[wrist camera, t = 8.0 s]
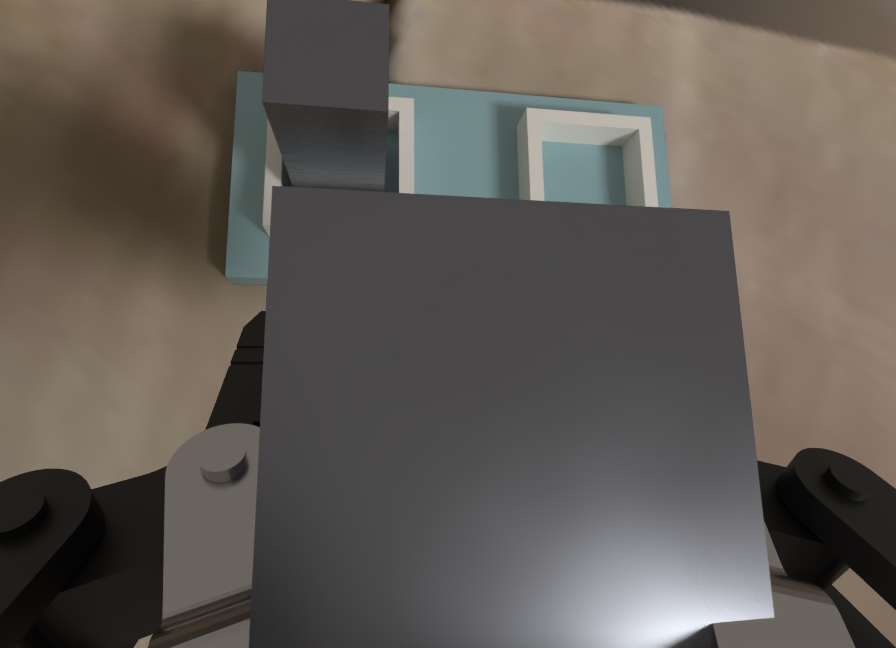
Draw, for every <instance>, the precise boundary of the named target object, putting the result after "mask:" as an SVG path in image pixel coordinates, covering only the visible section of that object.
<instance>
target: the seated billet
mask: <svg viewBox="0 0 896 648" xmlns="http://www.w3.org/2000/svg"><path fill="white" fill-rule="evenodd" d="M262 104H263V106H264V109H265V112H266V114H267V117H268V120H269V123H270V125H271V128H272V131H273V133H274V136H275V139H276V142H277V144H278V147H279V150H280V153H281V155H282V158H283V161H284V163H285V166H286V169H287V172H288V174H289V177H290V180H291V182H292V185H293V187H303V188H321V189H339V190H357V191H375V192H384V186H385V167H386V148H387V130H388V107H389V5H388V4H379V3H370V2H361V1H351V0H267V13H266V32H265V51H264V71H263V90H262Z"/></svg>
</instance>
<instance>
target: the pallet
mask: <svg viewBox="0 0 896 648" xmlns="http://www.w3.org/2000/svg"><path fill="white" fill-rule="evenodd" d="M262 90H263V73H260V72H248V71H238V74H237V90H236V107H235V123H234V139H233V156H232V172H231V188H230V204H229V221H228V237H227V253H226V270H225V277H226V278H227V279H228V280H229V281H230V282H231V283H233V284H260V285H267V279H268V259H269V239H270V220H271V200H272V186H285V187H293V185H292V182H291V180H290V177H289V174H288V172H287V169H286V166H285V163H284V161H283V158H282V155H281V153H280V150H279V147H278V144H277V142H276V139H275V136H274V133H273V131H272V128H271V125H270V123H269V120H268V117H267V114H266V112H265V109H264V106H263V104H262ZM384 192H393V193H411V194H429V195H447V196H465V197H483V198H501V199H519V200H537V201H555V202H573V203H591V204H609V205H627V206H645V207H663V208H672V207H671V196H670V185H669V174H668V163H667V152H666V141H665V130H664V119H663V109H662V106H651V105H639V104H627V103H615V102H603V101H591V100H580V99H568V98H556V97H544V96H532V95H520V94H508V93H497V92H485V91H473V90H461V89H449V88H437V87H425V86H414V85H402V84H390V83H389V107H388V130H387V148H386V167H385V186H384Z"/></svg>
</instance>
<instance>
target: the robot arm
mask: <svg viewBox="0 0 896 648" xmlns="http://www.w3.org/2000/svg"><path fill="white" fill-rule="evenodd" d="M265 318H266V311H261V312H260V313H259V314H258V315H256V316H255V317H254V318H253V319H252V320H251V321H250V322H249V323H248V324H247V325H245V326H244V328H243V330H242V333H241V336H240V338H239V341H238V344H237V350H235V352H234V354H233V357H232V360H231V366H229V368H228V371H227V373H226V376H225V379H224V381H223V384H222V387H221V389H220V392H219V395H218V398H217V400H216V403H215V406H214V408H213V411H212V414H211V416H210V419H209V422H208V425H207V427H206V429H205V430H204V431H202V432H200V433H198V434H196V435H195V436H193V437H192V438H190V439H189V440H187V441H186V442H185V443H184V444H183V445H181V446H180V447H179V448H178V450H177V451H176V452H175V453H174V454H173V456H172V458H171V459H170V461H169V463H168V466H166V467H164V468H161V469H159V470H157V471H154V472H151V473H148V474H145V475H142V476H138V477H135V478H131V479H128V480H124V481H120V482H117V483H113V484H109V485H106V486H102V487H99V488H95V489H91V488H90V486H89V484H88V482H87V481H86V480H85V479H84V478H83V477H82V476H81V475H79V474H77V473H75V472H72V471H69V470H64V469H42V470H35V471H31V472H27V473H23V474H20V475H17V476H14V477H11V478H9V479H7V480H4V481H2V482H0V648H134V646H135V645H136V643H137V641H138V640H139V639H141V638H143V637H146V636H148V635H151V634H153V633H154V634H153V635H152V637H151V639H150V642H149V645H148V648H249V632H250V612H251V592H252V573H253V553H254V534H255V514H256V494H257V475H258V455H259V435H260V416H261V396H262V377H263V357H264V337H265ZM757 465H758V474H759V483H760V492H761V501H762V510H763V519H764V528H765V537H766V546H767V555H768V563H769V572H770V581H771V590H772V599H773V608H774V617H775V618H764V619H753V620H742V621H731V622H720V623H713V625H712V636H711V648H896V647H895V646H894V645H893V644H892V643H891V642H890V641H889V640H888V639H887V638H885V637H884V636H883V635H882V634H881V633H880V632H879V631H878V630H877V629H876V628H875V627H874V626H873V625H872V624H871V623H870V622H869V621H868V620H867V619H866V618H865V617H864V616H863V615H862V614H861V613H860V612H859V611H858V610H857V609H856V608H855V607H854V606H853V605H852V604H851V603H850V602H849V601H848V600H847V599H846V598H845V597H844V596H843V595H842V594H841V593H840V592H839V591H838V590H837V589H836V588H835V587H834V586H833V585H832V584H833V583H834V582H835V581H836V580H837V579H838V578H839V577H840V576H841V575H842V574H844V573H845V572H846V571H847V570H848V569H849V568H851V569H852V570H853V571H854V572H855V573H856V574H857V575H859V576H860V577H861V578H862V579H863V580H864V581H865V582H866V583H867V584H868V585H869V586H870V587H871V588H872V589H874V590H875V591H876V592H877V593H878V594H879V595H880V596H881V597H882V598H883V599H884V600H885V601H886V602H888V603H889V604H890V605H891V606H892V607H893V608H894V609H895V610H896V489H895V488H894V487H892V486H891V485H890V484H888V483H887V482H886V481H884V480H883V479H882V478H880V477H879V476H878V475H876V474H875V473H874V472H872V471H871V470H870V469H868V468H867V467H865V466H864V465H862V464H860V463H859V462H857V461H855V460H853V459H851V458H849V457H847V456H845V455H842V454H840V453H837V452H834V451H831V450H827V449H822V448H807V449H803V450H801V451H800V452H798V453H797V454H796V456H795V457H794V458H793V460H792V461H791V462H790V463H789V465H788V466H787V467H782V466H778V465H774V464H770V463H765V462H761V461H757ZM156 632H157V633H156Z"/></svg>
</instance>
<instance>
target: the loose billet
mask: <svg viewBox="0 0 896 648" xmlns="http://www.w3.org/2000/svg"><path fill="white" fill-rule="evenodd" d="M764 618H775V617H774V608H773V599H772V590H771V581H770V572H769V563H768V555H767V546H766V537H765V528H764V519H763V510H762V501H761V492H760V483H759V474H758V465H757V456H756V447H755V438H754V429H753V420H752V411H751V402H750V393H749V384H748V375H747V367H746V358H745V349H744V340H743V331H742V322H741V313H740V304H739V295H738V286H737V277H736V268H735V259H734V250H733V241H732V232H731V223H730V214H729V211H717V210H699V209H681V208H663V207H645V206H627V205H609V204H591V203H573V202H555V201H537V200H519V199H501V198H483V197H465V196H447V195H429V194H411V193H393V192H375V191H357V190H339V189H321V188H303V187H285V186H272V200H271V220H270V239H269V259H268V279H267V298H266V318H265V337H264V357H263V377H262V396H261V416H260V435H259V455H258V475H257V494H256V514H255V534H254V553H253V573H252V592H251V612H250V632H249V648H711V636H712V625H713V623H720V622H731V621H742V620H753V619H764Z"/></svg>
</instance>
